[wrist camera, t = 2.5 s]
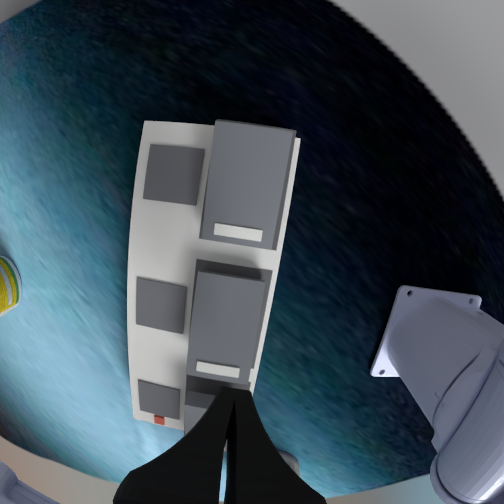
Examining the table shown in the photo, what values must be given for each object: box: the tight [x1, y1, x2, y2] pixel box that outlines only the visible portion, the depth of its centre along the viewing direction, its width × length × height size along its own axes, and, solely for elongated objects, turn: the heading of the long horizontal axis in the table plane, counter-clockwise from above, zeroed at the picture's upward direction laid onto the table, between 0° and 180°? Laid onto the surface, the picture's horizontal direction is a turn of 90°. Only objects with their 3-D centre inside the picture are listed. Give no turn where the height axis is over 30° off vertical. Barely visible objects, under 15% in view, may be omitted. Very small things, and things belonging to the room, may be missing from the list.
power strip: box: [127, 119, 300, 434], centre depth 19 cm, size 9×23×3 cm, turn 171°
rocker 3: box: [184, 391, 227, 452], centre depth 18 cm, size 4×6×2 cm, turn 171°
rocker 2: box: [186, 270, 265, 385], centre depth 16 cm, size 4×6×2 cm, turn 171°
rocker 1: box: [202, 121, 293, 250], centre depth 15 cm, size 4×6×2 cm, turn 171°
